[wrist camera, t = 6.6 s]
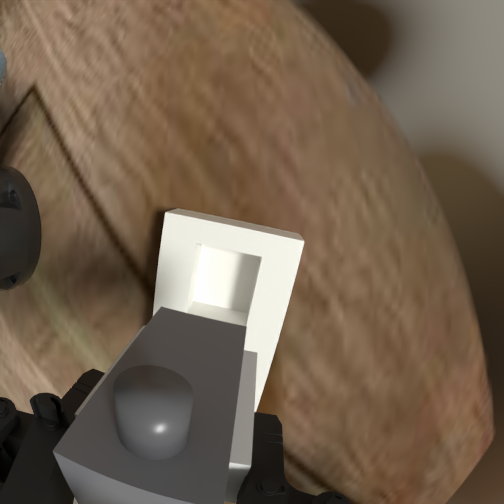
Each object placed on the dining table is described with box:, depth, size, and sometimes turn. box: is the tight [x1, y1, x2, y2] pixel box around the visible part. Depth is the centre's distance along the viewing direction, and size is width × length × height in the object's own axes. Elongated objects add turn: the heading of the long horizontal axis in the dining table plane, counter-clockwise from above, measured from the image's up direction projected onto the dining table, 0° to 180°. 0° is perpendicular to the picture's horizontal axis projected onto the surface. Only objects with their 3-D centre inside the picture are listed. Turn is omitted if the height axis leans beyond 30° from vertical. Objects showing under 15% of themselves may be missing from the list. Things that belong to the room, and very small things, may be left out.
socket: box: [153, 208, 304, 412], centre depth 26 cm, size 11×18×4 cm, turn 168°
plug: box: [53, 306, 247, 504], centre depth 9 cm, size 4×7×9 cm, turn 168°
